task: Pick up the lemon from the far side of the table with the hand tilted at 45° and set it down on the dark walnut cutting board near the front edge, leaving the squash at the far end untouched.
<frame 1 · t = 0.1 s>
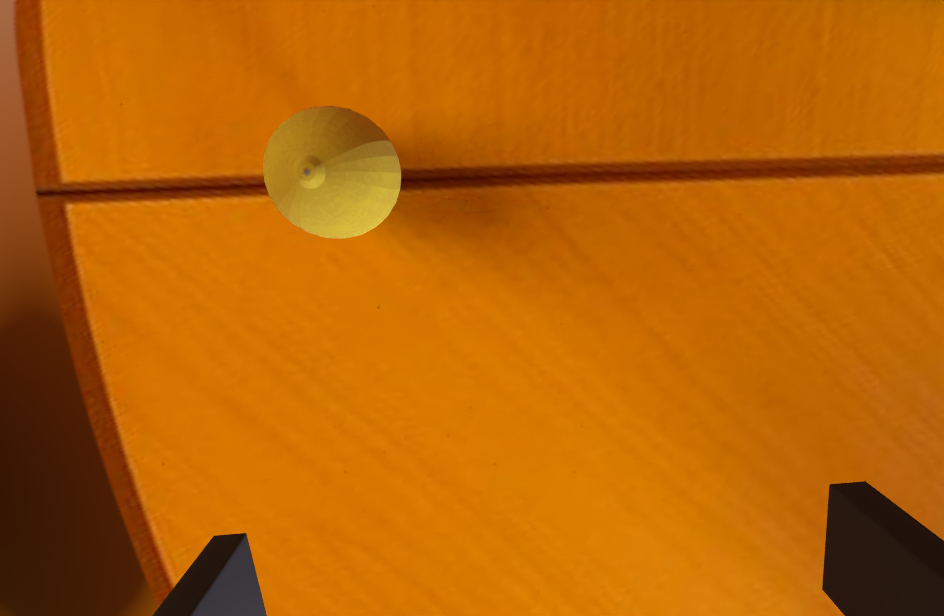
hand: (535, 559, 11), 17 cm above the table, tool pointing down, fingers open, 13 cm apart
lemon: (359, 177, 26), on the table
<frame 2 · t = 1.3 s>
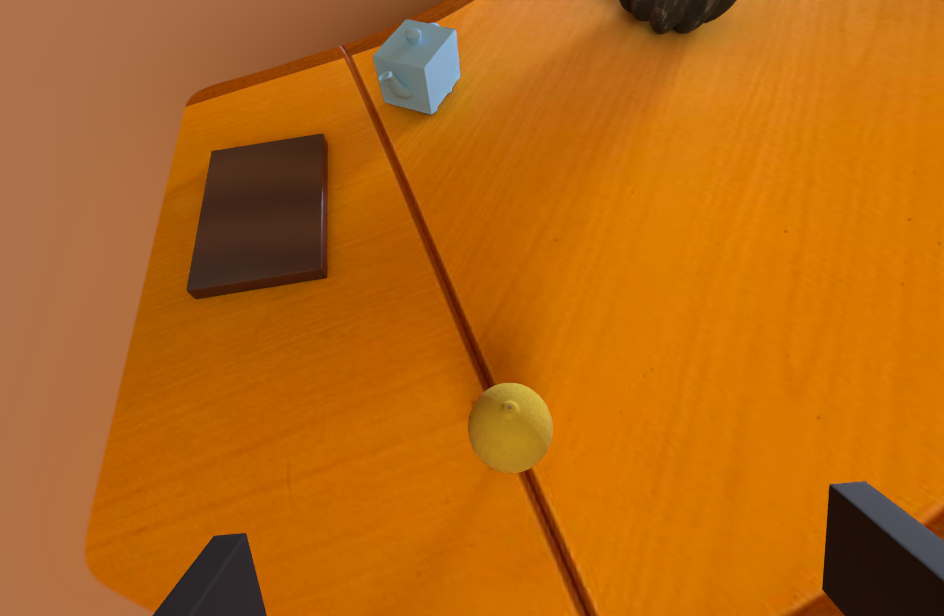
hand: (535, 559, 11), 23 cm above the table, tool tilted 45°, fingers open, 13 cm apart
lemon: (510, 444, 36), on the table
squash: (668, 16, 62), on the table
knobbed blue-grey cube: (420, 102, 57), on the table
cutting board: (267, 214, 49), on the table
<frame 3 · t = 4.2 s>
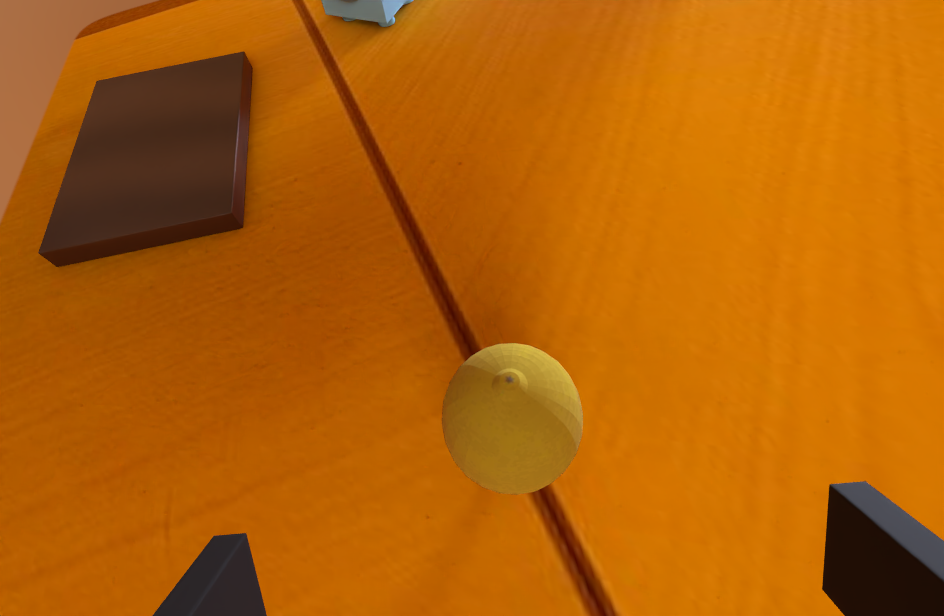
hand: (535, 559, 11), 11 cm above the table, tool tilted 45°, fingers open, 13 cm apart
lemon: (513, 447, 23), on the table
knobbed blue-grey cube: (373, 15, 44), on the table
cutting board: (168, 154, 36), on the table
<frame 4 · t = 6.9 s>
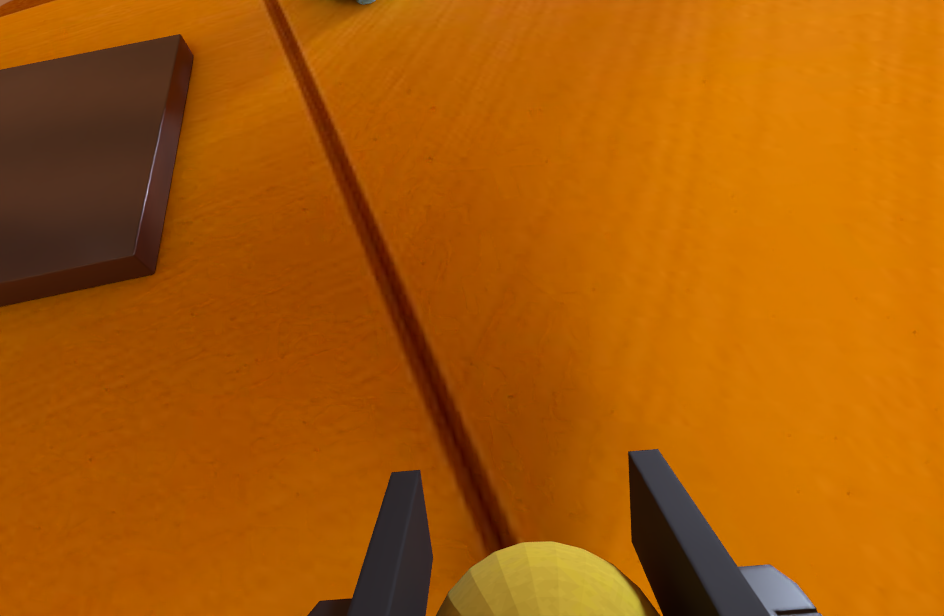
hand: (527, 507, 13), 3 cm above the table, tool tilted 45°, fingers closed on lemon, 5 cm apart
cutting board: (70, 168, 27), on the table
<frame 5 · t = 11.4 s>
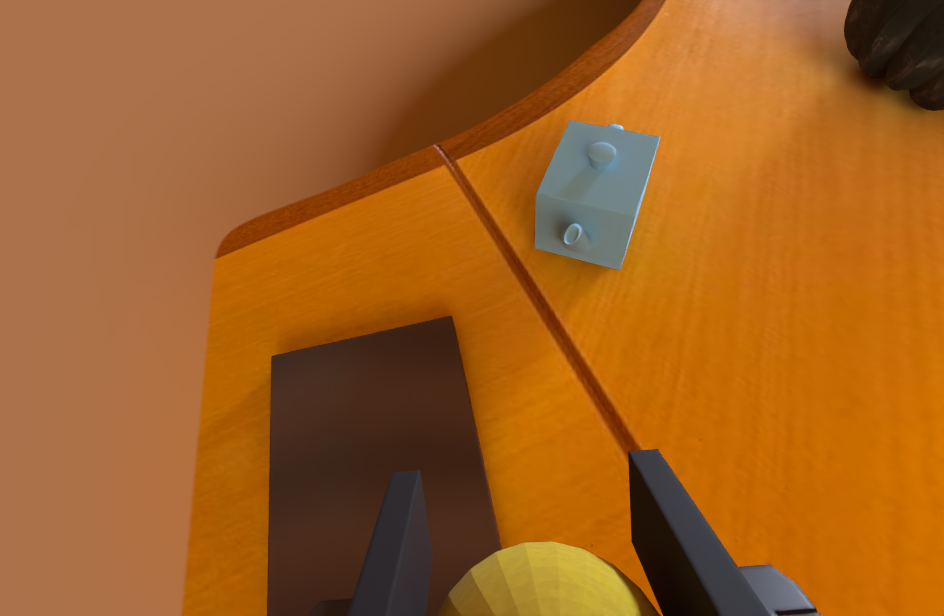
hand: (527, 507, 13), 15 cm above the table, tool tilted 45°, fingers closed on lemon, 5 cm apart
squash: (920, 78, 42), on the table
knobbed blue-grey cube: (585, 241, 36), on the table
cutting board: (381, 480, 29), on the table
when the fingers open (5 cm above the table, at t = 16.0 s): lemon stays where it is, resting on cutting board.
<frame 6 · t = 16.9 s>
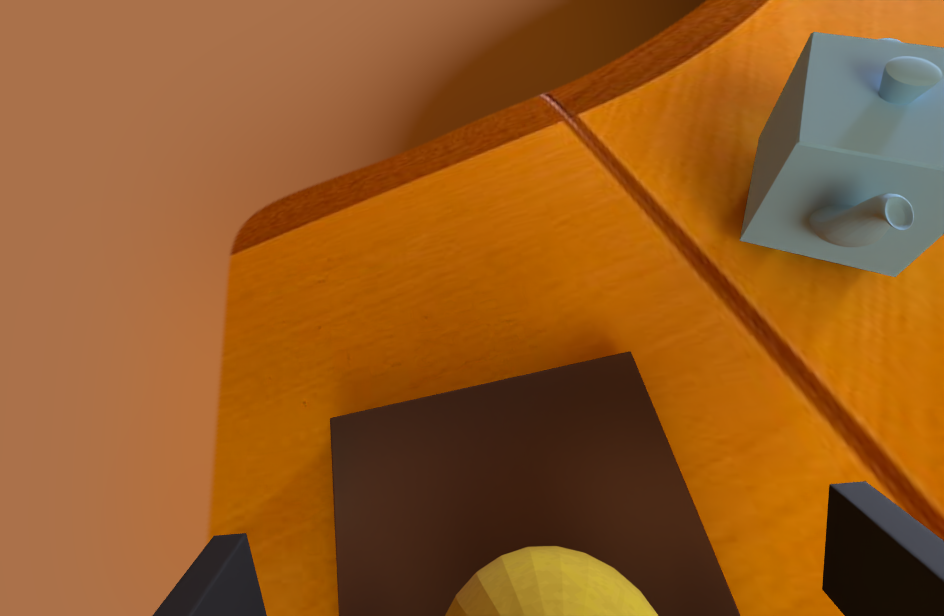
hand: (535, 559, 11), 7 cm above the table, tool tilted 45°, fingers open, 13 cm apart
knobbed blue-grey cube: (806, 230, 23), on the table
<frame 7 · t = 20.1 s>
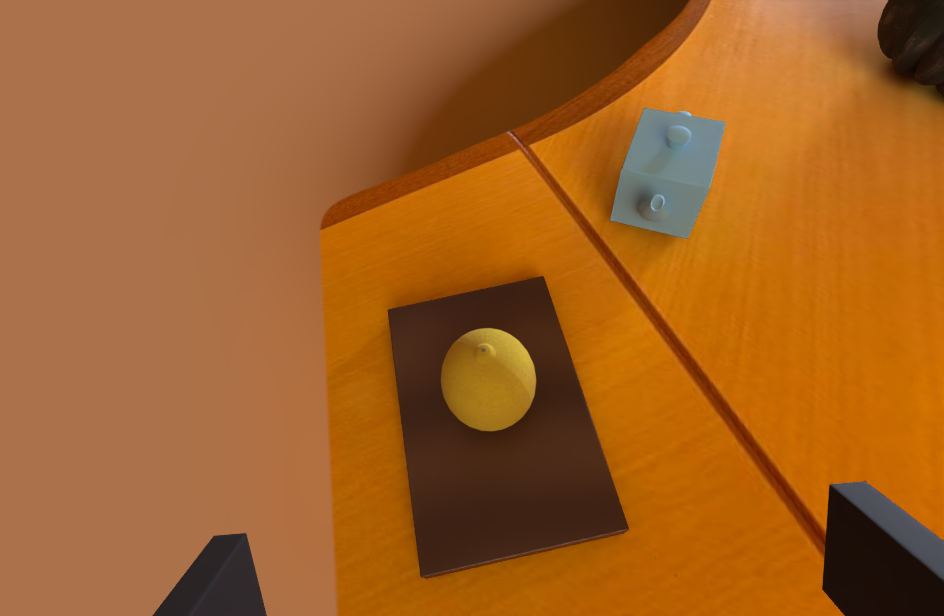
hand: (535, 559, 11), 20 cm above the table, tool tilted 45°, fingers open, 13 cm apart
lemon: (492, 405, 32), point 1 cm above the table, touching cutting board
knobbed blue-grey cube: (652, 215, 41), on the table
cutting board: (492, 411, 34), on the table
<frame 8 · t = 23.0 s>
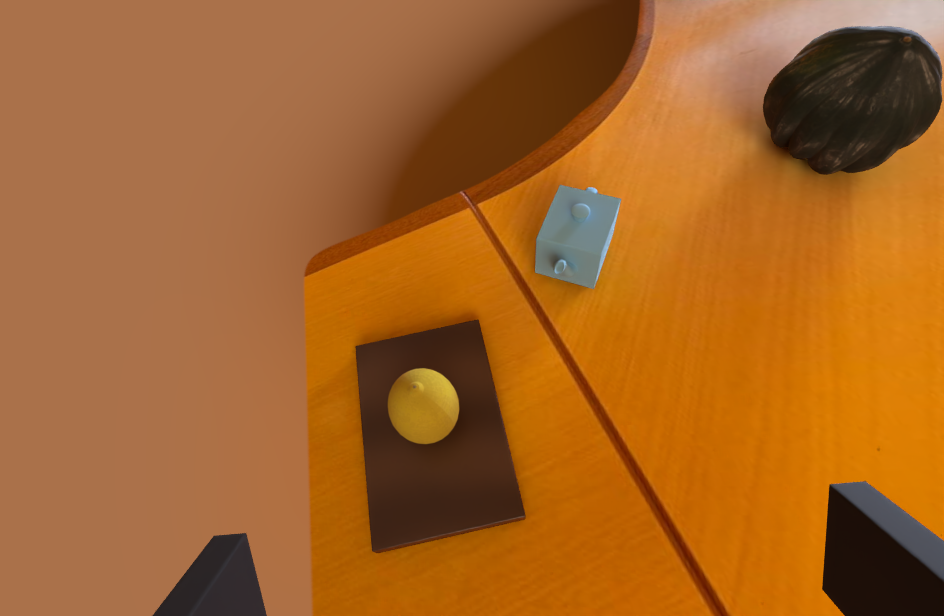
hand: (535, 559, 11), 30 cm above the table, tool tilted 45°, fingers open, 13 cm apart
lemon: (432, 423, 42), point 1 cm above the table, touching cutting board
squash: (818, 147, 57), on the table
knobbed blue-grey cube: (570, 267, 51), on the table
cutting board: (433, 427, 44), on the table
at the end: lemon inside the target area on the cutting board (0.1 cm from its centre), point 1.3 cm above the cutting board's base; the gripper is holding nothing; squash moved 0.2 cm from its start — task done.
